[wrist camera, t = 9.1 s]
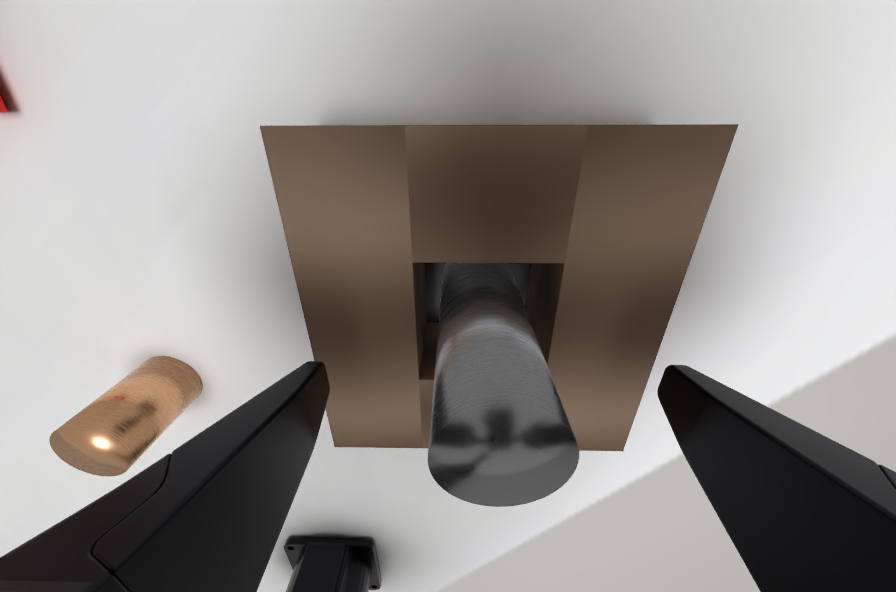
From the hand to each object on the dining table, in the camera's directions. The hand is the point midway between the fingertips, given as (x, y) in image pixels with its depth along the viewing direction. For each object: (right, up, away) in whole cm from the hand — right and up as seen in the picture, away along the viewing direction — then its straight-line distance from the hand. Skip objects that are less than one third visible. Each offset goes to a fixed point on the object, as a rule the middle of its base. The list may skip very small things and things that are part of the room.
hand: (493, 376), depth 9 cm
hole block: (0, +3, +6) cm, 7 cm away
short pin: (-16, -2, +9) cm, 18 cm away
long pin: (0, +3, +6) cm, 7 cm away
